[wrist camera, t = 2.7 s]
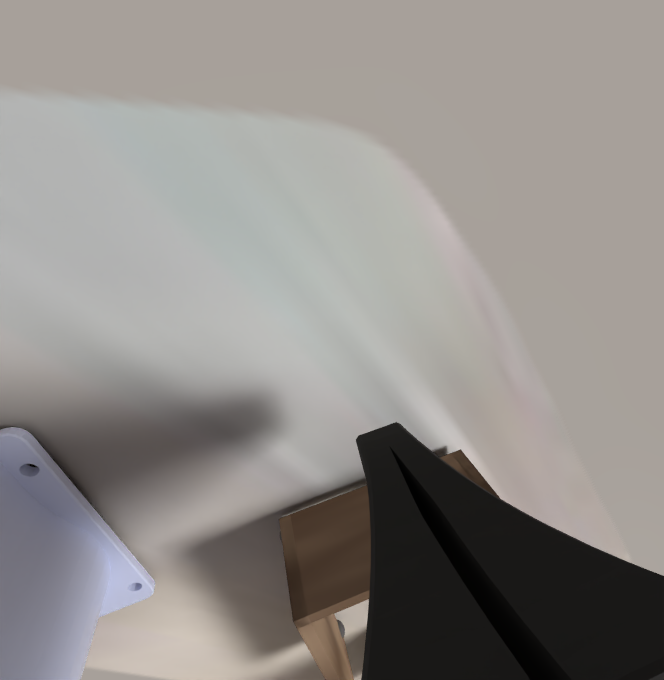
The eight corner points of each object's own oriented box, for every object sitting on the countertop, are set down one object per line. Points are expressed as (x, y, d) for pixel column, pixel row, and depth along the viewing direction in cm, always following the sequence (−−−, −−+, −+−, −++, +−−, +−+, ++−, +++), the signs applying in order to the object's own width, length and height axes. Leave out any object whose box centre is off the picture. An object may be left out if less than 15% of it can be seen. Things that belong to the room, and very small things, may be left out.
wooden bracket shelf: (272, 513, 16) (285, 624, 12) (461, 442, 17) (528, 523, 13) (329, 632, 21) (350, 736, 17) (470, 572, 22) (520, 657, 18)
